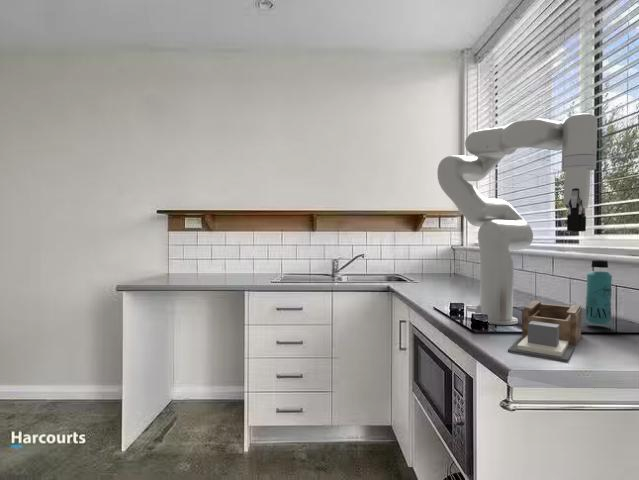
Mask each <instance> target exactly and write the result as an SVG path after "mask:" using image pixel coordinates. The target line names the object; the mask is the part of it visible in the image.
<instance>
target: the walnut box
mask: <svg viewBox="0 0 639 480" xmlns="http://www.w3.org/2000/svg"><path fill="white" fill-rule="evenodd" d="M582 310H583V309H582V307H581V305H580V304H572V305H571V306H569V305H561V304H560V305H559V304H549V303H542V302H541V301H539V300H533V301H531V302H530V303H528V304H527V305H526V306H524V307H523V309H522V325H521V331H522V332H521V338H525V337H526V336H527V335H528V323H530V322H531V321H536V322H543V323H551V324H559V340H564V341H568V345H573V346H575V348H576V346H577V344H578V342H579V341H580V338H581V337H582V336H581V335H582V312H583V311H582Z"/></svg>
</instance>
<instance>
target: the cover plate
mask: <svg viewBox="0 0 639 480" xmlns="http://www.w3.org/2000/svg"><path fill="white" fill-rule="evenodd" d="M567 346H568V341H564V340H559V324H551V323H543V322H536V321H531V322H530V323H528V335H527V336H526V337H525V338H524V339H523V340H522V341H521V342H520V343H519V344H518V345H517V349H518V350H524V351H530V352H536V353H542V354H548V355H554V356H560V357H562V355H563V353H564V352H565V350H566V348H567Z"/></svg>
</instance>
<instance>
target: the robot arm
mask: <svg viewBox="0 0 639 480" xmlns="http://www.w3.org/2000/svg"><path fill="white" fill-rule="evenodd" d="M597 142H598V118H597V116H596V115H595V114H593V113H576V114H572V115H569V116H567V117H566V118H564V119H563V121H555V120H552V119H551V120H550V119H544V118H531V119H529V118H528V119H523V120H522V119H521V120H517V121H513V122H510V123H509V124H507V125H504V126H499V127H498V126H497V127H491V128H483V129H478V130H473V132H471V133H469V134H468V135H467V137H466V139H465V141H464V144H465V149H466V151H467V152H468V153H469V154H470V155H472V156H467V155H458V154H457V155H456V154H455V155H448V156H445V157H444V158H442V159H441V160H440V161H439V164H438V167H437V182H438V184H439V186H440V188H441V190H442V191H443V193H445V195H446V196H447V197H448V198H449V200H451V201H452V203H453V204H454V205H455V206H456V208H457V209H458V210H459V211H460V213H461V214H462V215H463V217H464V218H465V219H466V221H468V222H469V224H471V225H472V226H473V227H479V228H478V230H477V231H478V232H477V241H478V248H479V254H480V255H479V256H480V258H479V259H480V266H479V267H480V269H479V271H480V274H479V275H480V276H479V281H480V282H479V285H480V286H479V304H476V305H473V304H466V307H465V309H466V311H467V312H470V313H471V312H472V313H475V314H477V313H481V314H487V315H488V321H489V324H491V325H499V326H510V325H511V326H512V325H517V324H518V322H519V320H518V318H517V317H515V316H513V312H514V311H513V308H514V307H513V305H514V303H513V302H514V272H515V271H514V270H515V269H514V261H513V257H512V255H511V252H510V251H521V250H525V249H527V248H528V247H530V245H532V242H533V239H534V233H533V229H532V228H531V225H530V224H529V223H528V221H526V219H524V217H523V216H522V215H521V214H520V213H519V212H518V211H517V210H516V209H515V208H514V207H513V205H511V204H510V203H509V202H508V201H505V200H503V199H500V198H488V197H485V196H484V195H483V194H481V193H480V192H479V190H478V189H477V187H475V186H474V185H473V184H471V183H470V182H480V181H481V180H483V179H485V178H486V176H488V175H489V174H490V172H492V170H493V169H494V168H495V167H496V166H497V165H498V164H499V163H500V162H501V161H502V160H503V158H504V157H505V156H506V155H512V154H514V152H516V151H517V149H523V148H524V149H526V148H530V149H531V148H533V149H534V148H535V149H542V150H548V151H558V152H559V151H561V172H565V173H564V184H563V185H564V186H563V199H562V200H563V201H562V207H564V208H565V209H567V211H568V212H567V213H568V214H567V215H566V217H567V219H566V224H567V225H566V230H567V231H568V232H583V233H584V232H586V228H587V216H586V209H587V208H588V207H589V201H590V200H589V199H590V191H591V190H590V189H591V188H590V187H591V172H592V171H595V170H596V169H597V151H598V150H597V149H598V143H597ZM474 156H475V157H474Z"/></svg>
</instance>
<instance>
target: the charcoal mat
mask: <svg viewBox="0 0 639 480" xmlns="http://www.w3.org/2000/svg"><path fill="white" fill-rule="evenodd" d="M523 339H524V338H522V337H520V338H518V339H517V340H516V342H514V343H513V344H512V345H511V346H510V347H509V348H508V349H507V353H511V354H517V355H524V356H529V357H534V358H540V359H545V360H551V361H552V360H553V361H558V362H564V363H569V361H570V358H571V357H572V355H573V353H574V351H575V349H576V347H575V346H573V345H568V346H567V348H566V350H565V352H564V353H563V355H562V357H560V356H554V355H548V354H542V353H536V352H530V351H524V350H518V349H517V345H518V344H519V343H520V342H521V341H522V340H523Z"/></svg>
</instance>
